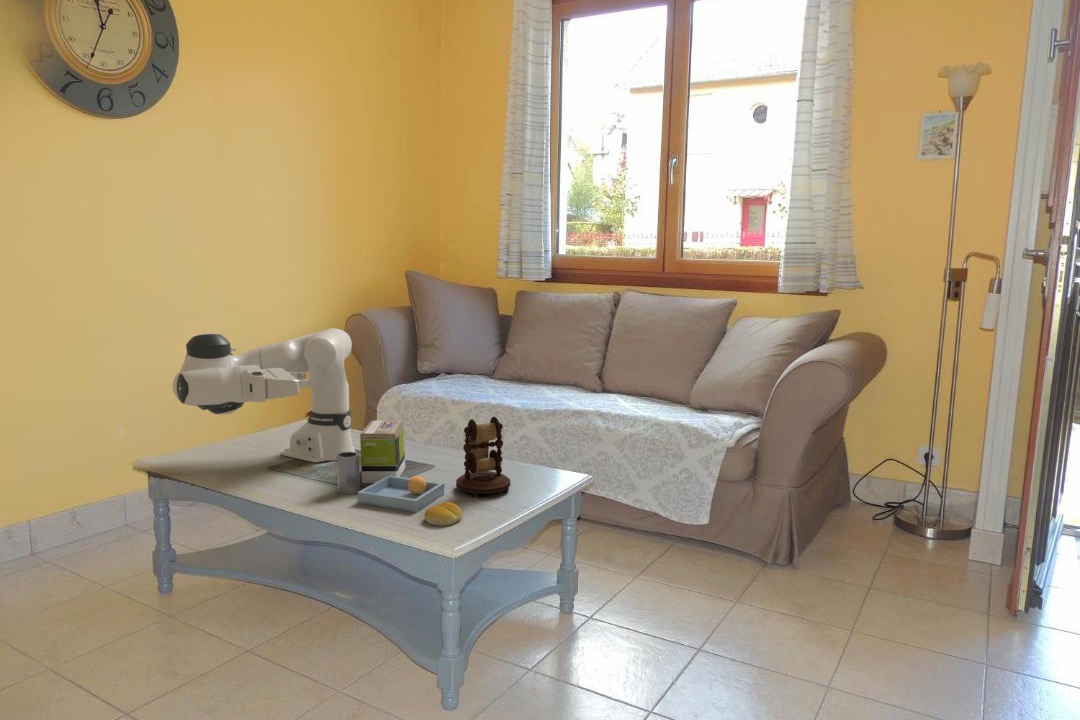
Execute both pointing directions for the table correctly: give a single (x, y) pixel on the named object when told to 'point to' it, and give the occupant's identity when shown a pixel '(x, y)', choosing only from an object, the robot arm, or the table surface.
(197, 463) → the table surface
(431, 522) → the bread roll
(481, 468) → the wooden spool stand
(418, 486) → the ball
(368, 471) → the tea box
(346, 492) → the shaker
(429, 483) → the tray
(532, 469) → the table surface
